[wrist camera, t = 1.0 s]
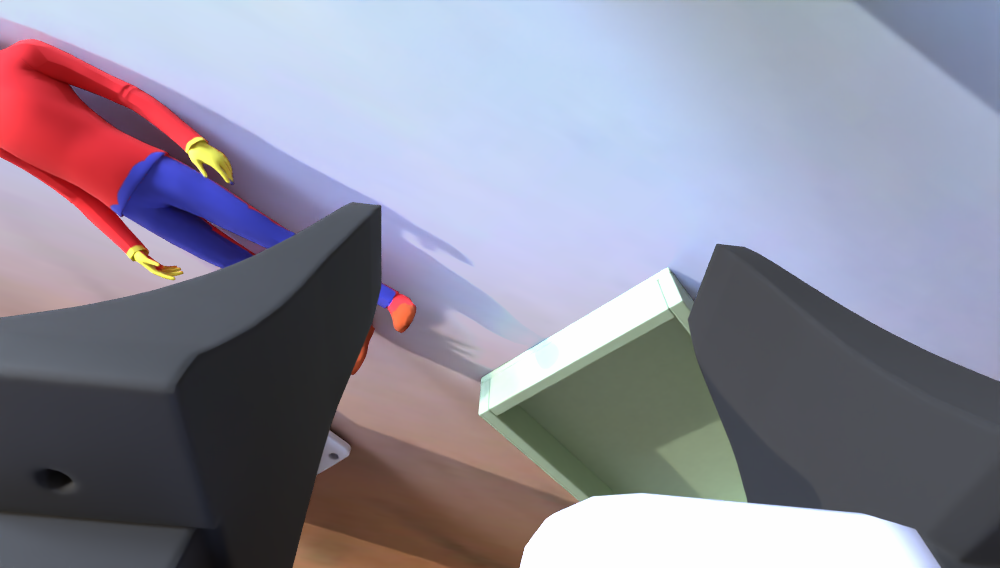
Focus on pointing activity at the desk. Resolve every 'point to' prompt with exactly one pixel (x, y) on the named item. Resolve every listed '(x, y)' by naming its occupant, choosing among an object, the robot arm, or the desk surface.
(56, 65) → the character figure
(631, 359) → the tray
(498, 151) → the desk surface
